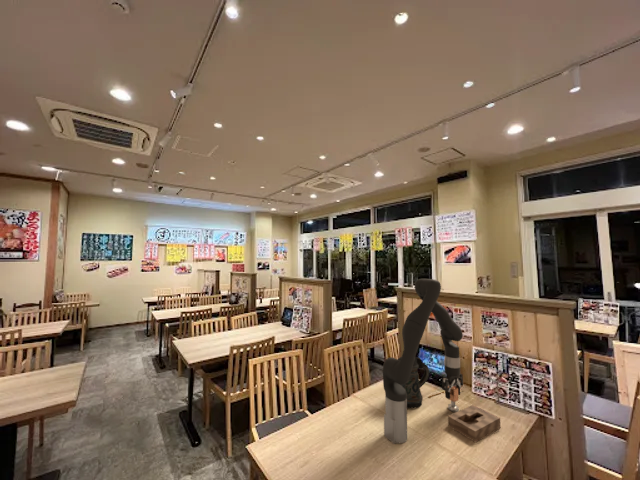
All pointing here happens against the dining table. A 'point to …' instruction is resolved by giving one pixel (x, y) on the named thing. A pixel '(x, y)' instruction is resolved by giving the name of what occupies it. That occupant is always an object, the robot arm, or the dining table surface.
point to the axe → (435, 395)
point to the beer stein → (415, 384)
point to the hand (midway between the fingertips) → (453, 396)
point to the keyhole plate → (474, 422)
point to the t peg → (453, 399)
